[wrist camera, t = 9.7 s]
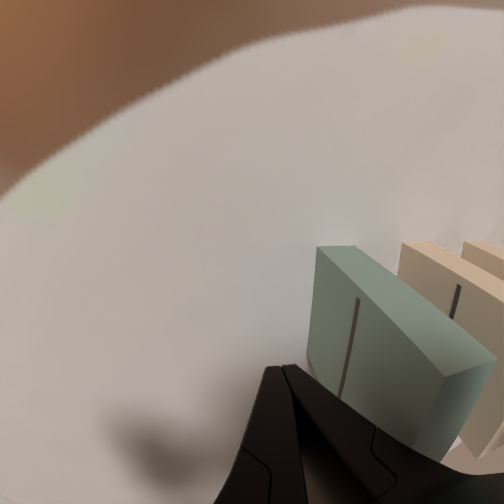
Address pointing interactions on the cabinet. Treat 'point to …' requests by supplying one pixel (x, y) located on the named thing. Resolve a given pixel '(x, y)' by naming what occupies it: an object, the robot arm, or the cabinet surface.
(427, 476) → the robot arm
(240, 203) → the cabinet surface
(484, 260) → the domino
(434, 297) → the domino
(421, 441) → the domino
